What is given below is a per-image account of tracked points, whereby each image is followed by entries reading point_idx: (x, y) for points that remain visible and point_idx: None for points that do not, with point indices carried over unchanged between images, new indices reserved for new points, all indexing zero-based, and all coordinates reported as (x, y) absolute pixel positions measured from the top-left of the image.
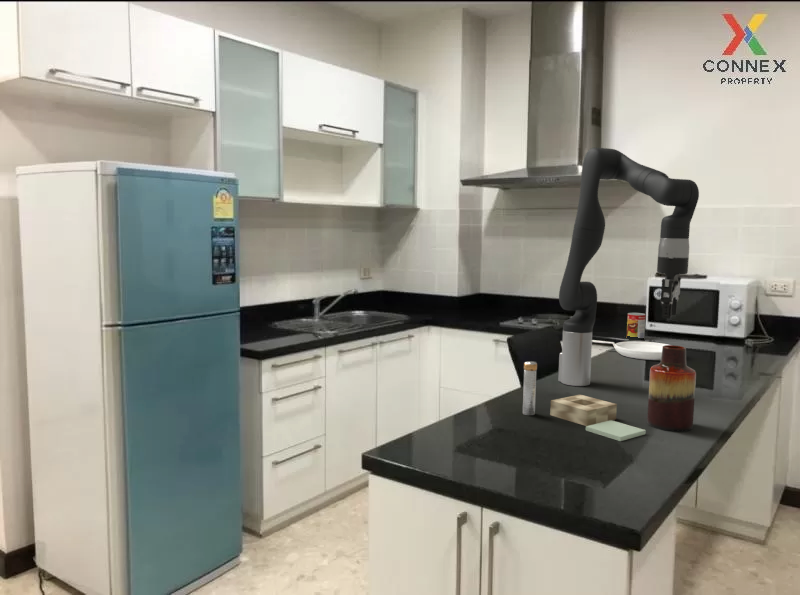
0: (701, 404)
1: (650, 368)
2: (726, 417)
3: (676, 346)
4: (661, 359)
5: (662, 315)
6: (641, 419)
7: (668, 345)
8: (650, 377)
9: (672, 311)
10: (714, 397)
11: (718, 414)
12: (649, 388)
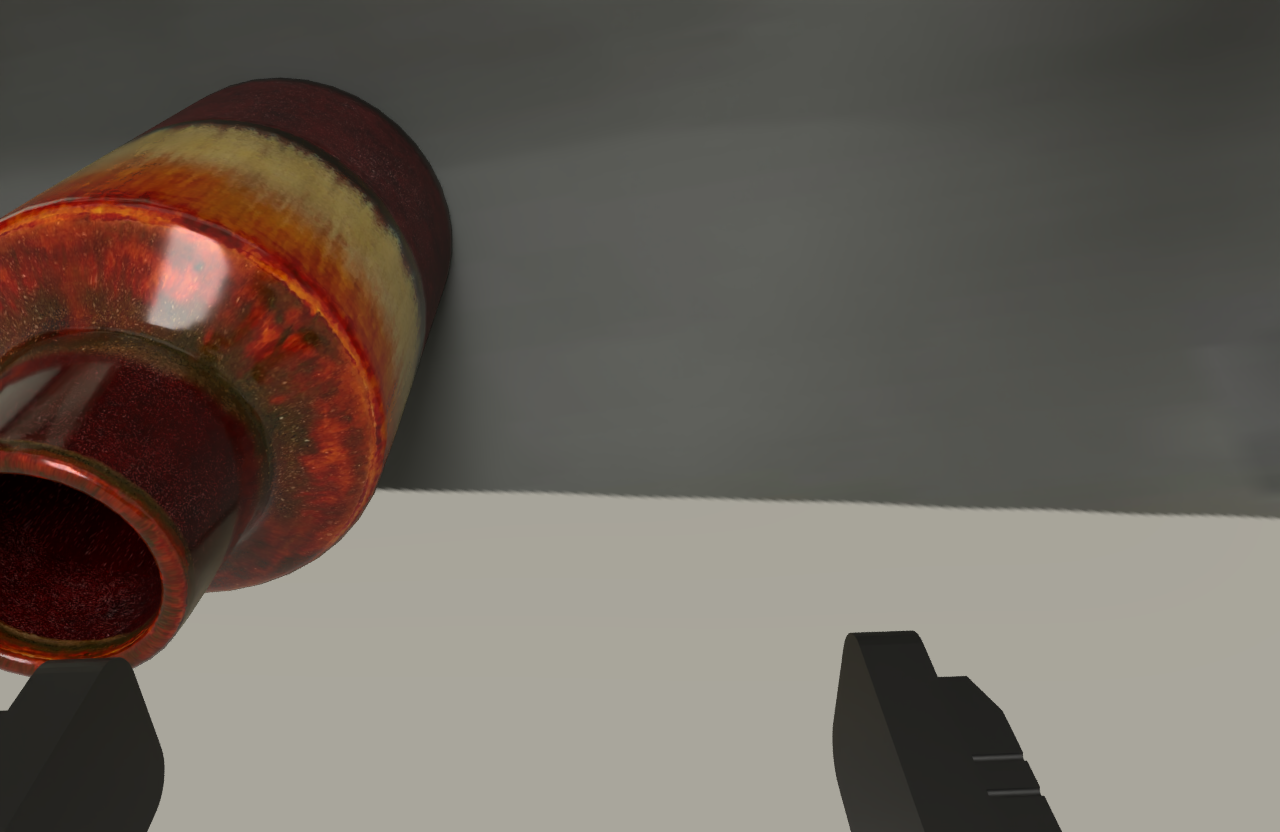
0: (1019, 312)
1: (55, 204)
2: (743, 476)
3: (163, 574)
4: (13, 369)
5: (29, 701)
6: (311, 19)
7: (98, 500)
8: (39, 195)
9: (856, 762)
10: (1274, 354)
11: (792, 432)
12: (108, 155)
